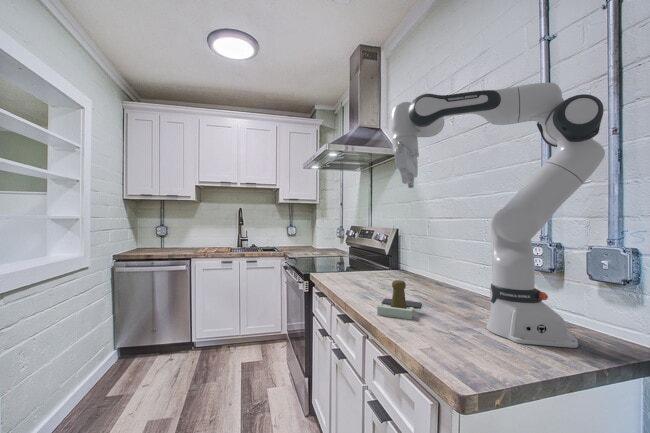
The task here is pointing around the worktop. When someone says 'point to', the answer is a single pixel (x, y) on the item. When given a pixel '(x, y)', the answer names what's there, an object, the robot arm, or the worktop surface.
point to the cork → (398, 294)
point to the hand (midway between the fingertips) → (408, 185)
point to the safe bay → (395, 312)
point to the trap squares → (408, 303)
